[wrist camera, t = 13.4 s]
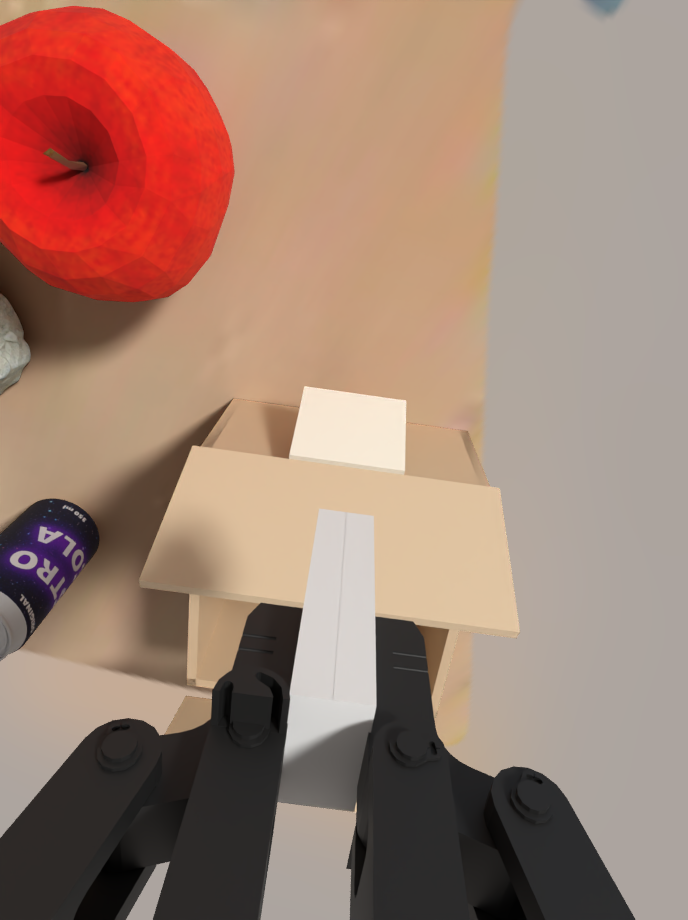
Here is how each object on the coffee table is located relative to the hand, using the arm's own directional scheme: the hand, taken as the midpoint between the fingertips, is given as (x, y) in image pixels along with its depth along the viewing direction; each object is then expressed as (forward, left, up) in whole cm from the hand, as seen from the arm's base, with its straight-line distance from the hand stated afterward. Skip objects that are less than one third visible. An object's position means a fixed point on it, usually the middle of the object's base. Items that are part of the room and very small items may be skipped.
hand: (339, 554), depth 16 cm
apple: (-13, +9, -24) cm, 29 cm away
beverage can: (-20, -16, -24) cm, 35 cm away
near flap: (0, -4, -13) cm, 13 cm away
